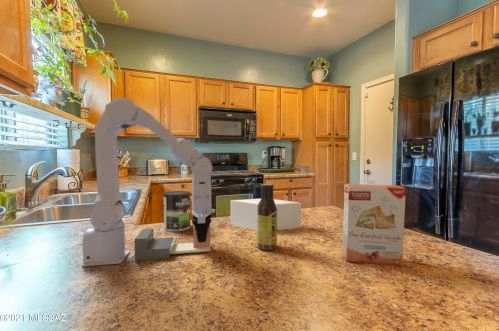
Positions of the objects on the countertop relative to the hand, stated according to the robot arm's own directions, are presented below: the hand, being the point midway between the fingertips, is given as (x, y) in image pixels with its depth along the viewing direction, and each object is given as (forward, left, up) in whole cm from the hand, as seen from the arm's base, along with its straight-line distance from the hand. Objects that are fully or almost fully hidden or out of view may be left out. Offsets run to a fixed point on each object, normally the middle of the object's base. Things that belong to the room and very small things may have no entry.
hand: (202, 240), depth 71 cm
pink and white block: (-5, 0, -2) cm, 6 cm away
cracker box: (+46, -16, -3) cm, 49 cm away
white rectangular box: (+25, +20, -3) cm, 32 cm away
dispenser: (-14, 0, -3) cm, 14 cm away
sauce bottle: (+20, -2, -3) cm, 20 cm away
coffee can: (-10, +24, -3) cm, 26 cm away
